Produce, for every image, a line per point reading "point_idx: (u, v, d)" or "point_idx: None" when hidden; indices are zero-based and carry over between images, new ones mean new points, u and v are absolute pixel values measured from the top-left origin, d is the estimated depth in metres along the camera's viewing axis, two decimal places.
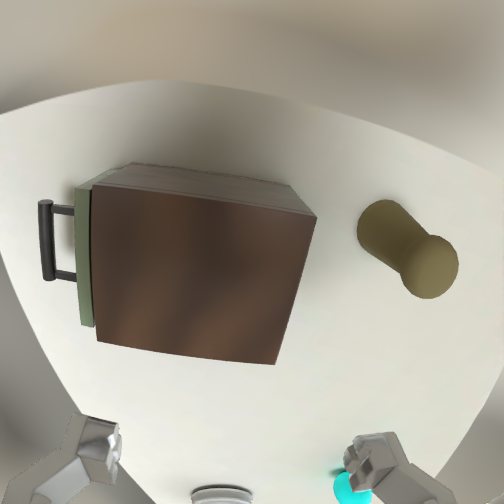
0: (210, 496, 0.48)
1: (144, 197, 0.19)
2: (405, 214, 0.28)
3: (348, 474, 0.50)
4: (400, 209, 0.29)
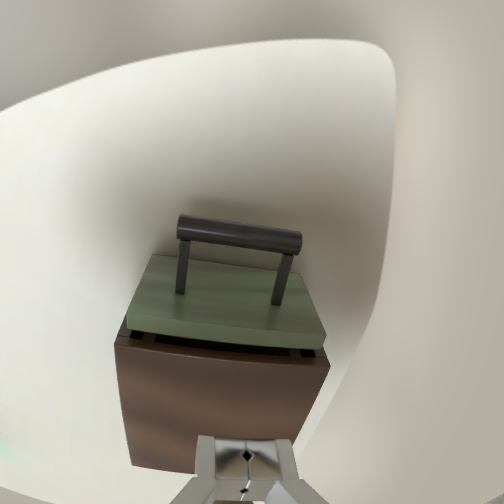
0: None
1: (307, 405, 0.19)
2: None
3: None
4: None
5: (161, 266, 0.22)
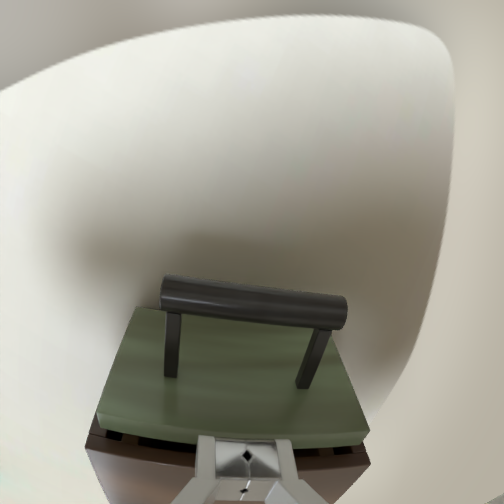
0: None
1: (335, 496, 0.13)
2: None
3: None
4: None
5: (146, 328, 0.16)
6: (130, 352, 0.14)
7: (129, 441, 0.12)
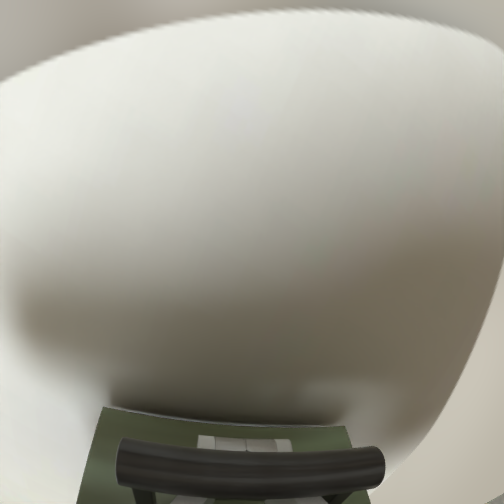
0: None
1: None
2: None
3: None
4: None
5: (115, 443, 0.11)
6: (97, 481, 0.09)
7: None
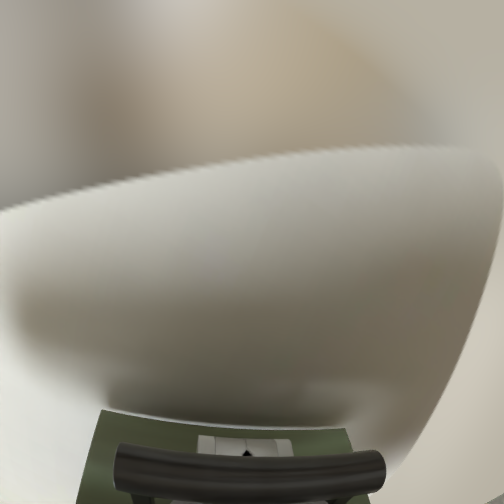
0: None
1: None
2: None
3: None
4: None
5: (113, 446, 0.10)
6: (95, 484, 0.09)
7: None
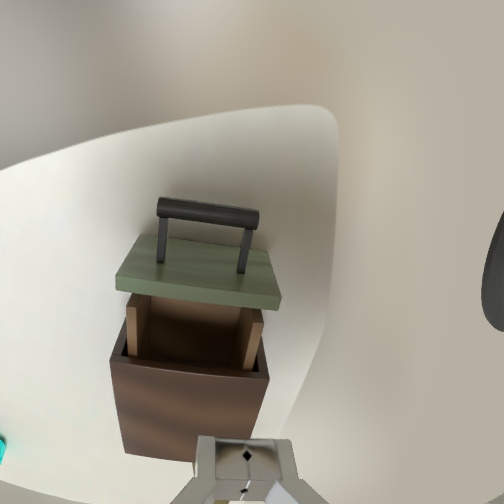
0: None
1: (255, 407, 0.26)
2: None
3: None
4: None
5: (146, 243, 0.26)
6: (136, 252, 0.24)
7: (131, 305, 0.22)
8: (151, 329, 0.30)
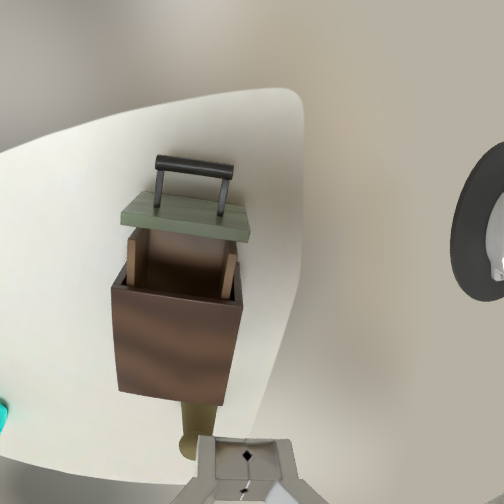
0: None
1: (232, 336, 0.31)
2: None
3: None
4: None
5: (146, 196, 0.32)
6: (138, 201, 0.30)
7: (132, 238, 0.28)
8: (148, 274, 0.36)
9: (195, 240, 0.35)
